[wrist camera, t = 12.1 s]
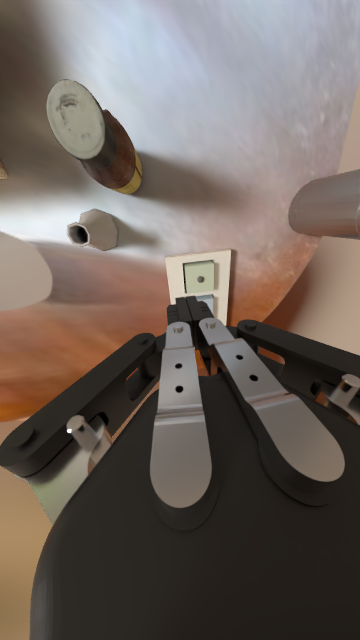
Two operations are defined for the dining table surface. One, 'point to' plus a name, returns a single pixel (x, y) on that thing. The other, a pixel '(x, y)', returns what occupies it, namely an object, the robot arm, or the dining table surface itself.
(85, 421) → the robot arm
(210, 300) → the tile two
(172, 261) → the board
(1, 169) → the woven basket
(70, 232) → the flask
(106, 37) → the dining table surface
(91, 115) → the sauce bottle
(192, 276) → the tile one
